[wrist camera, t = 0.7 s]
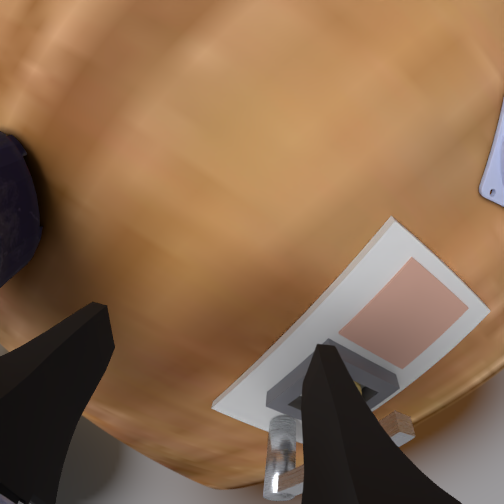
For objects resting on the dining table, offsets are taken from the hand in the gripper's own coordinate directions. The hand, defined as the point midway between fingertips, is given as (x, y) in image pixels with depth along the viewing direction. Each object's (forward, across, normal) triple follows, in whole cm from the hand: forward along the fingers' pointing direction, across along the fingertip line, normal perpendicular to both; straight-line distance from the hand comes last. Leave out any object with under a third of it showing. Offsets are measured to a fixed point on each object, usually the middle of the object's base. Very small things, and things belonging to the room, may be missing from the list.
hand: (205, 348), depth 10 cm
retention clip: (+9, -8, +12) cm, 17 cm away
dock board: (+10, -9, +10) cm, 17 cm away
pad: (+9, -12, +4) cm, 15 cm away
